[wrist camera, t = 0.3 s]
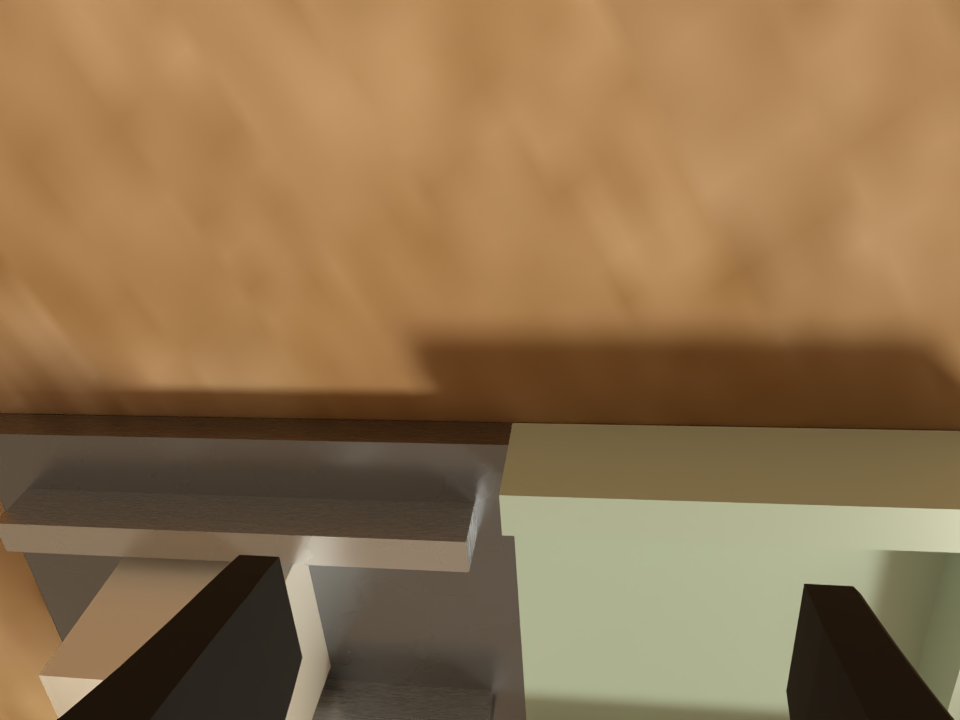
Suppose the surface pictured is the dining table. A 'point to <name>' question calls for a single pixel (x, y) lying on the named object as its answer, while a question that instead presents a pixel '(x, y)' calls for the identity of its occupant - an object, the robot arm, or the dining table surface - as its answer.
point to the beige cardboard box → (149, 606)
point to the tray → (721, 560)
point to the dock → (295, 537)
